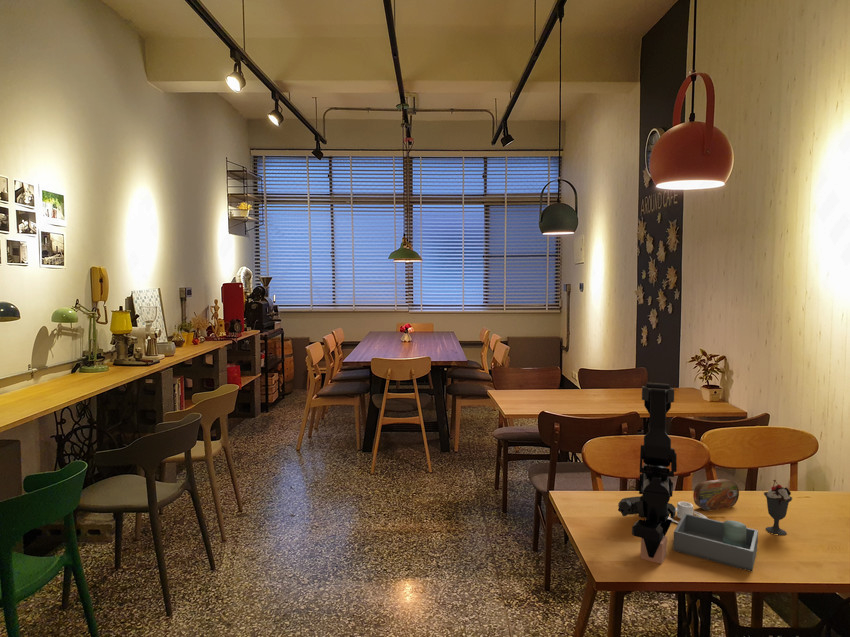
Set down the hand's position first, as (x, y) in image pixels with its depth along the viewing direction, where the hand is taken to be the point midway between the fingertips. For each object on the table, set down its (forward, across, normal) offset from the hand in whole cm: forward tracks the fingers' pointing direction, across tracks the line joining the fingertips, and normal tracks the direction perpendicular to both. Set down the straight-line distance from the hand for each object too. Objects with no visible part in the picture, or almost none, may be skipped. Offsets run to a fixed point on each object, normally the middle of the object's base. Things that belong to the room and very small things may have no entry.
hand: (653, 552), depth 136 cm
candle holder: (+2, -29, +2) cm, 29 cm away
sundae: (+1, -34, +24) cm, 42 cm away
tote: (+1, -13, +12) cm, 18 cm away
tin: (+1, -42, +8) cm, 43 cm away
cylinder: (0, -13, +16) cm, 21 cm away
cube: (+1, 0, 0) cm, 1 cm away
